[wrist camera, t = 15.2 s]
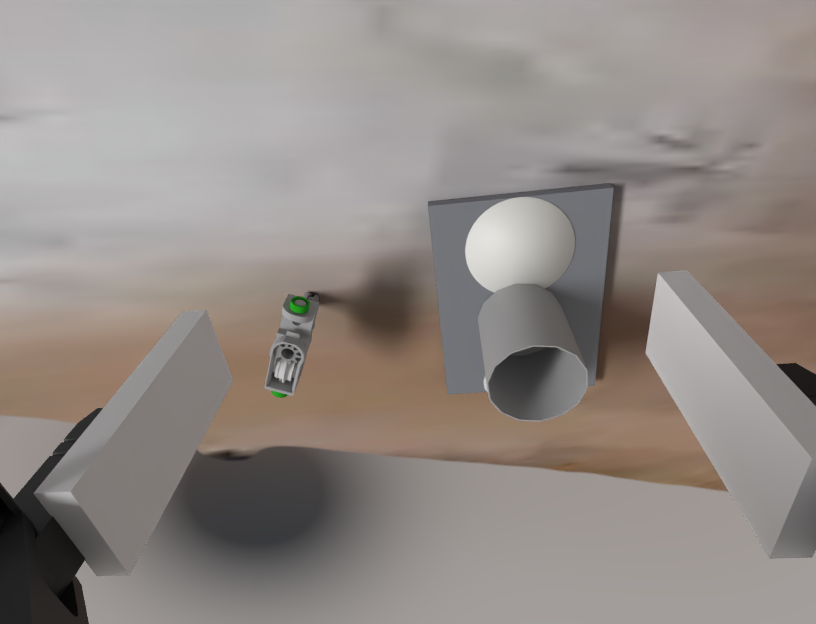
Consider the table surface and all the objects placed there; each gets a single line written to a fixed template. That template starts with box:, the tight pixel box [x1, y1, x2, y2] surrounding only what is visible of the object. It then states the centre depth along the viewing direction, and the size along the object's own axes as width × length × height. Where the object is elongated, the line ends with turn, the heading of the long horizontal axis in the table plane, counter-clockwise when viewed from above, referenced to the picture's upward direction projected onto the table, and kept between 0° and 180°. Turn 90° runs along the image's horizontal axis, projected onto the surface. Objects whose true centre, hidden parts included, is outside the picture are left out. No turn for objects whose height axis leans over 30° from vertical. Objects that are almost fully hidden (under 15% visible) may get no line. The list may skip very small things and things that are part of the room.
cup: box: [478, 284, 588, 422], centre depth 46 cm, size 8×8×10 cm
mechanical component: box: [264, 292, 319, 398], centre depth 47 cm, size 3×10×10 cm, turn 163°
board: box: [428, 183, 614, 394], centre depth 48 cm, size 22×16×5 cm
